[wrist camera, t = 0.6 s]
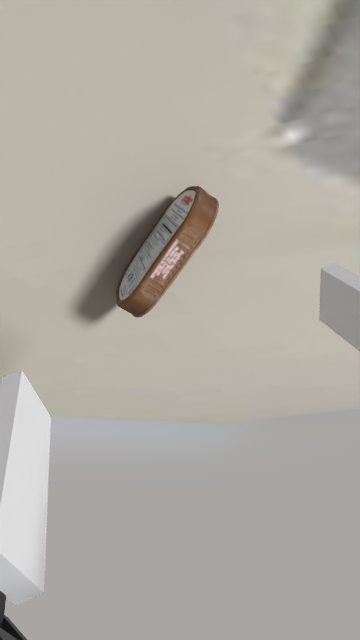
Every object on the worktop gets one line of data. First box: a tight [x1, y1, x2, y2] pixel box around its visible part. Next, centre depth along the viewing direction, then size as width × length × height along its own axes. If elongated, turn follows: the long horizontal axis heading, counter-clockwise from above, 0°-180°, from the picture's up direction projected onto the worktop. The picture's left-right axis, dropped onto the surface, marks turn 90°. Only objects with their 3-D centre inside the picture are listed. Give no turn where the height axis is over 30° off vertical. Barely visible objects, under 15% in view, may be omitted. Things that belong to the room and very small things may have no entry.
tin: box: [117, 186, 219, 317], centre depth 36 cm, size 15×3×8 cm, turn 142°
